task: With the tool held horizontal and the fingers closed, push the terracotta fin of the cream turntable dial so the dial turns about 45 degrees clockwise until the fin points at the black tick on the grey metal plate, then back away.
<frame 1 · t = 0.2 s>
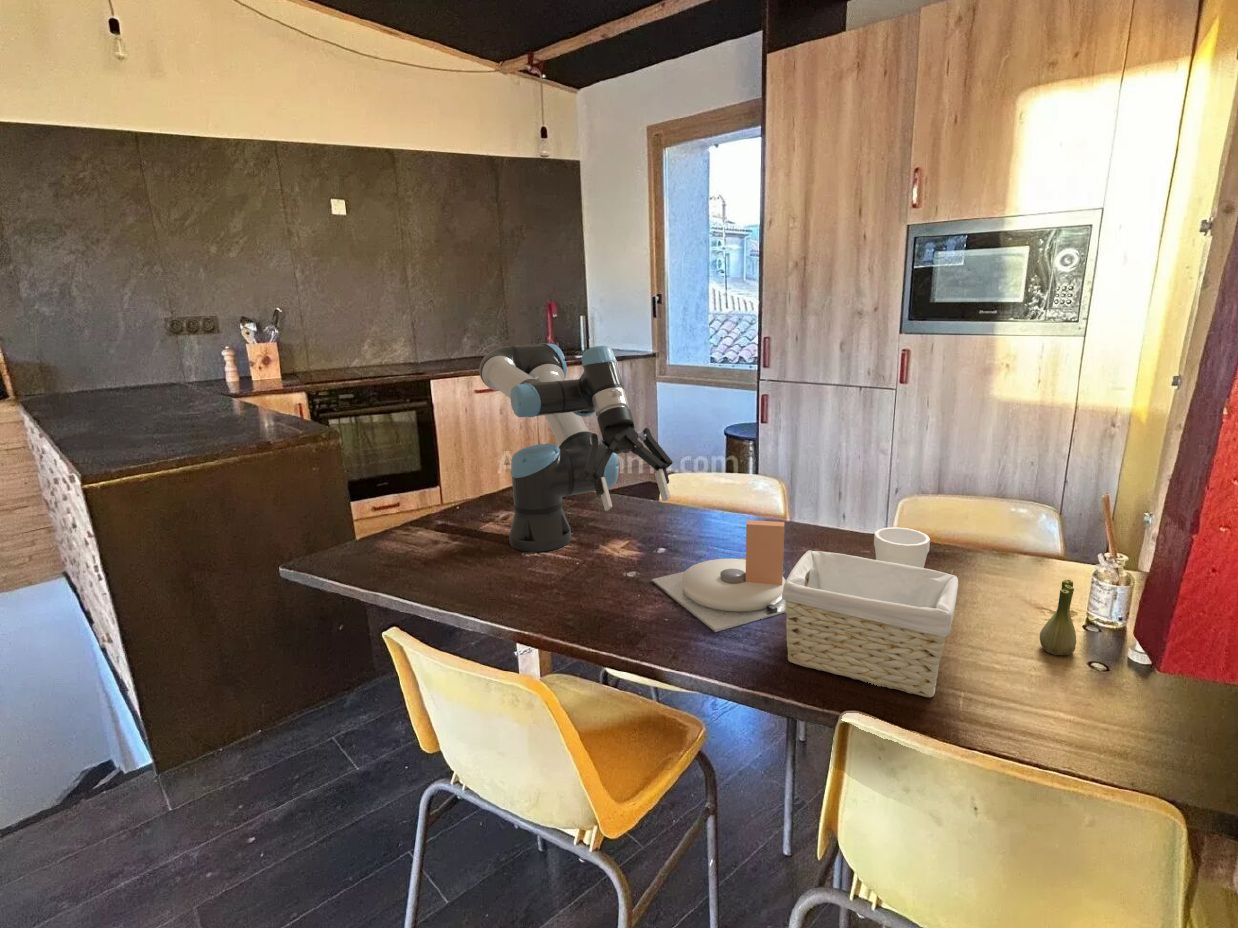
hand: (638, 504, 137), 15 cm above the table, tool tilted 35°, fingers open, 13 cm apart
storage basket: (864, 662, 105), on the table
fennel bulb: (1055, 651, 106), on the table
base plate: (732, 591, 131), on the table
dial: (733, 554, 129), point 8 cm above the table, hinge at 0.0°
foam cup: (896, 600, 125), on the table
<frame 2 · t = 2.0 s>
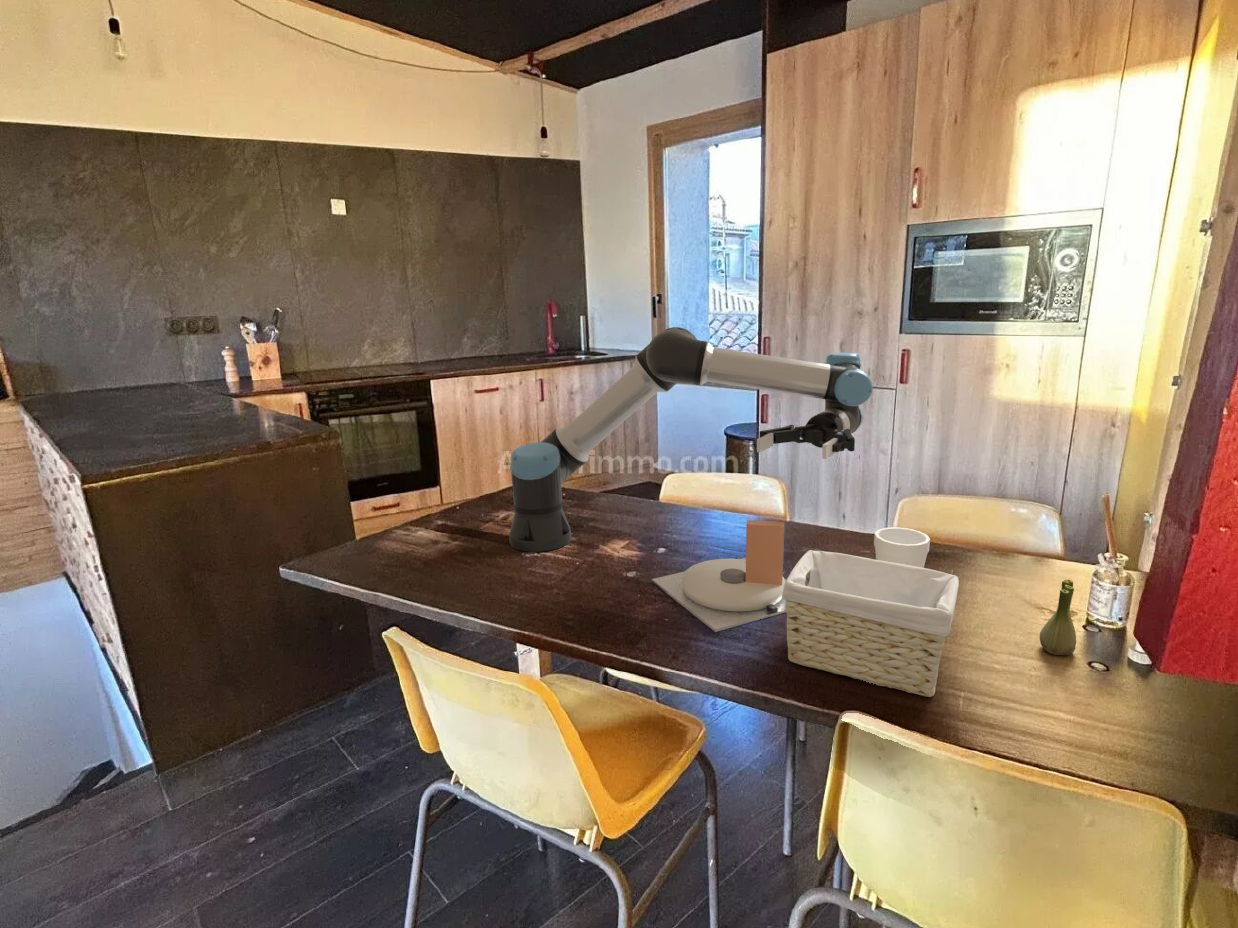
hand: (790, 448, 130), 27 cm above the table, tool horizontal, fingers open, 13 cm apart
nothing on the table moved.
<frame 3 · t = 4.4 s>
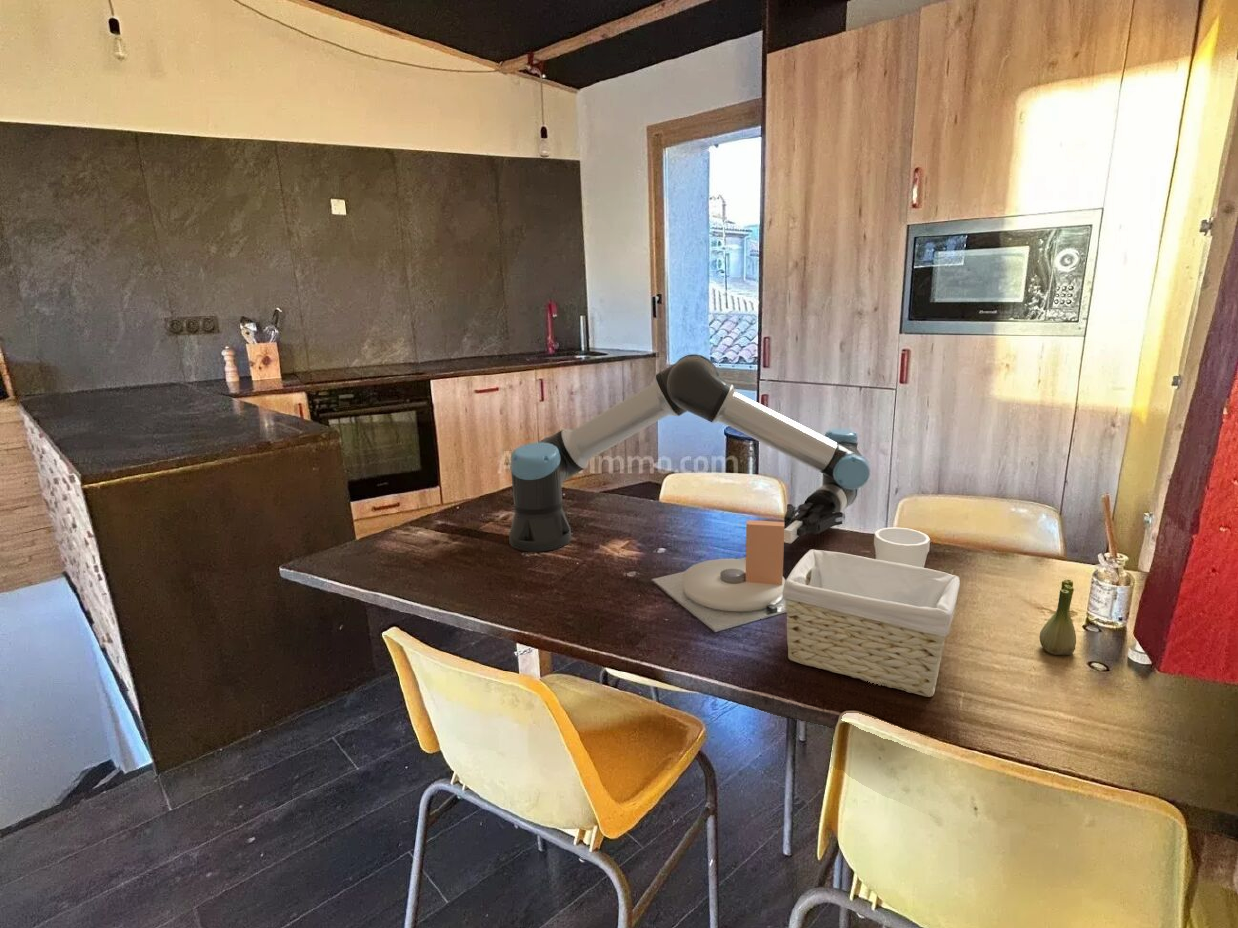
hand: (787, 536, 133), 9 cm above the table, tool horizontal, fingers closed
nothing on the table moved.
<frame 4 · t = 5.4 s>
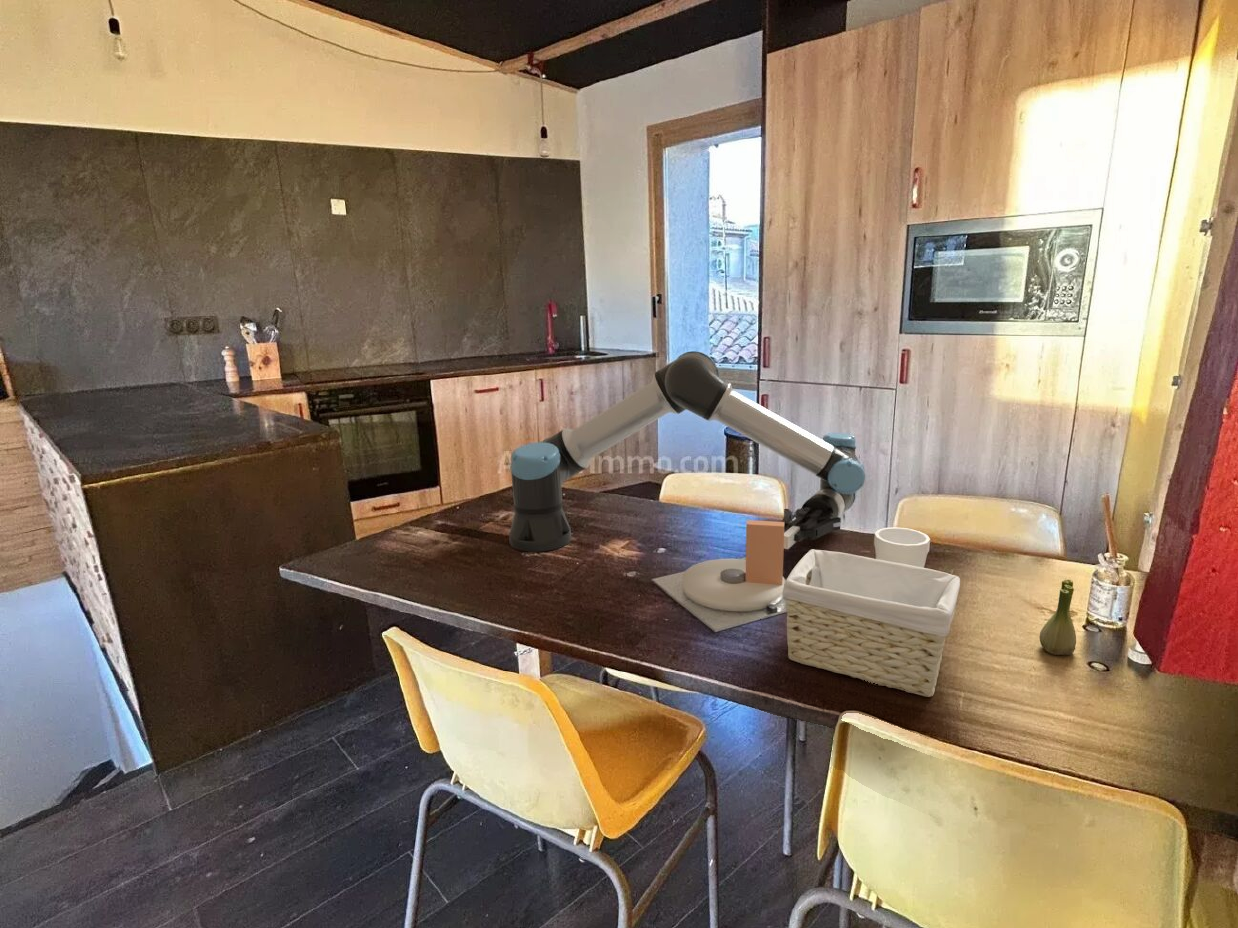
hand: (784, 542, 132), 9 cm above the table, tool horizontal, fingers closed
nothing on the table moved.
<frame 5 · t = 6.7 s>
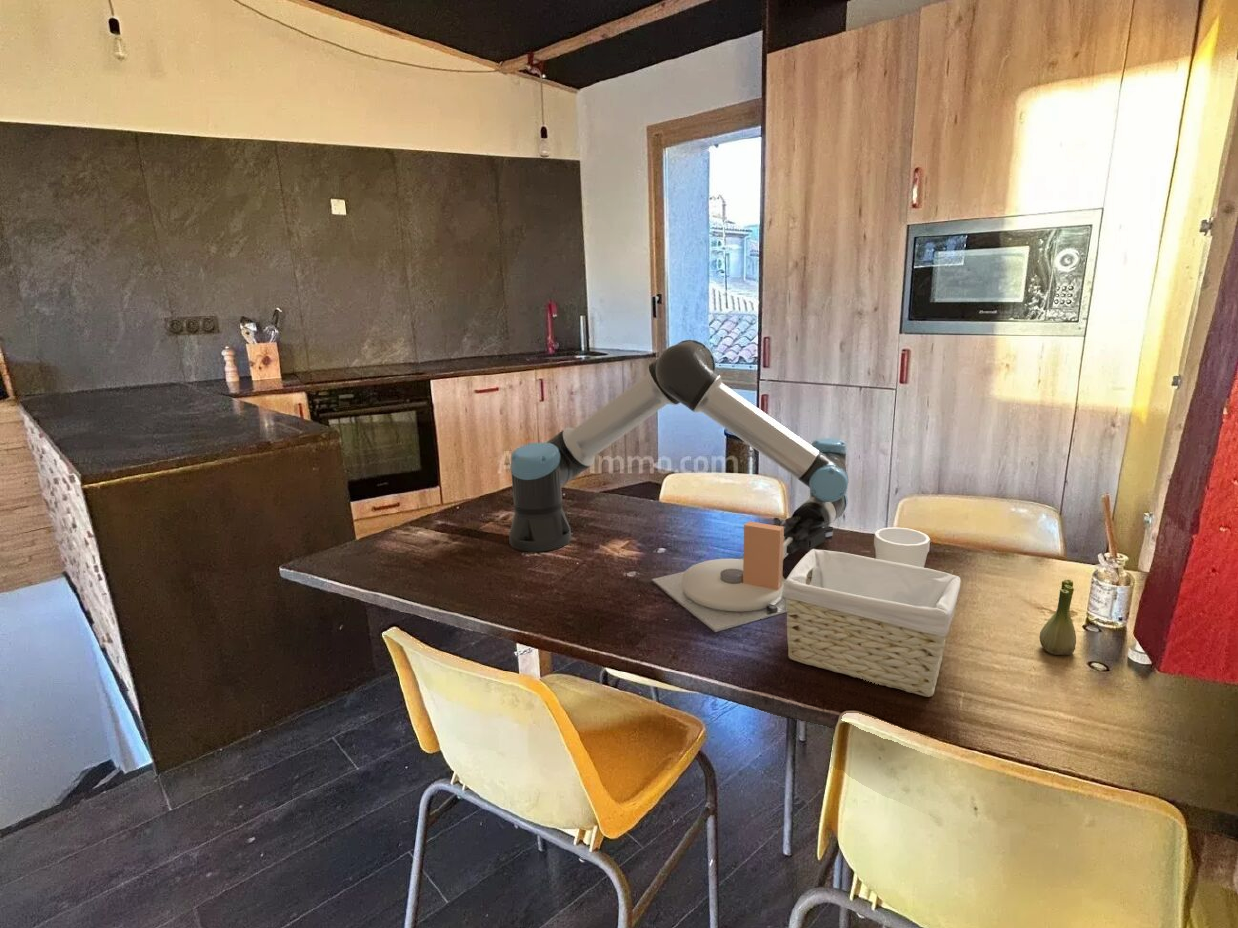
hand: (775, 554, 126), 9 cm above the table, tool horizontal, fingers closed, pressing on dial
dial: (733, 554, 129), point 8 cm above the table, hinge at 15.5°, touching gripper
everything else where it was.
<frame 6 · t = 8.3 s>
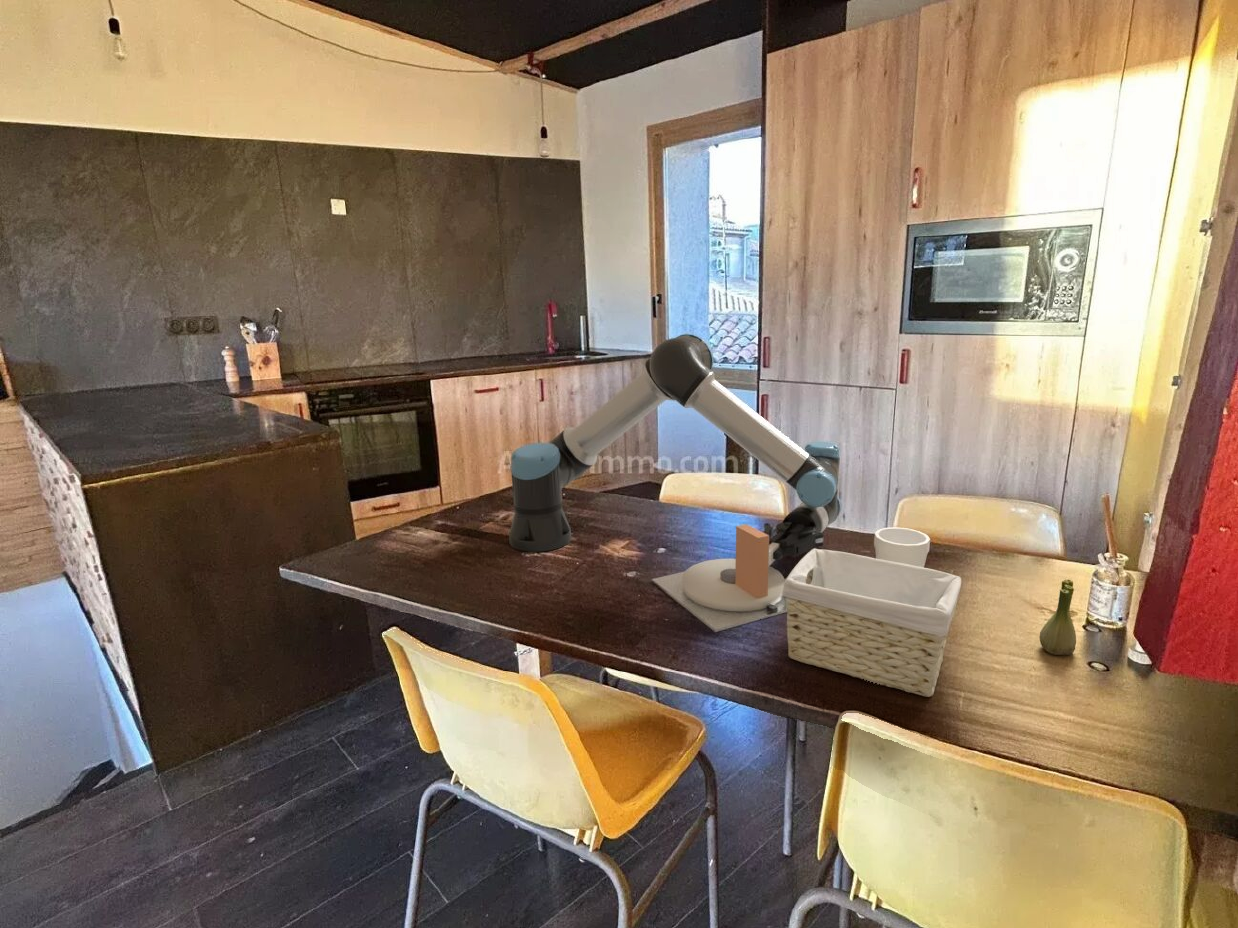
hand: (762, 560, 123), 9 cm above the table, tool horizontal, fingers closed
dial: (733, 554, 129), point 8 cm above the table, hinge at 50.2°, touching gripper
everything else where it was.
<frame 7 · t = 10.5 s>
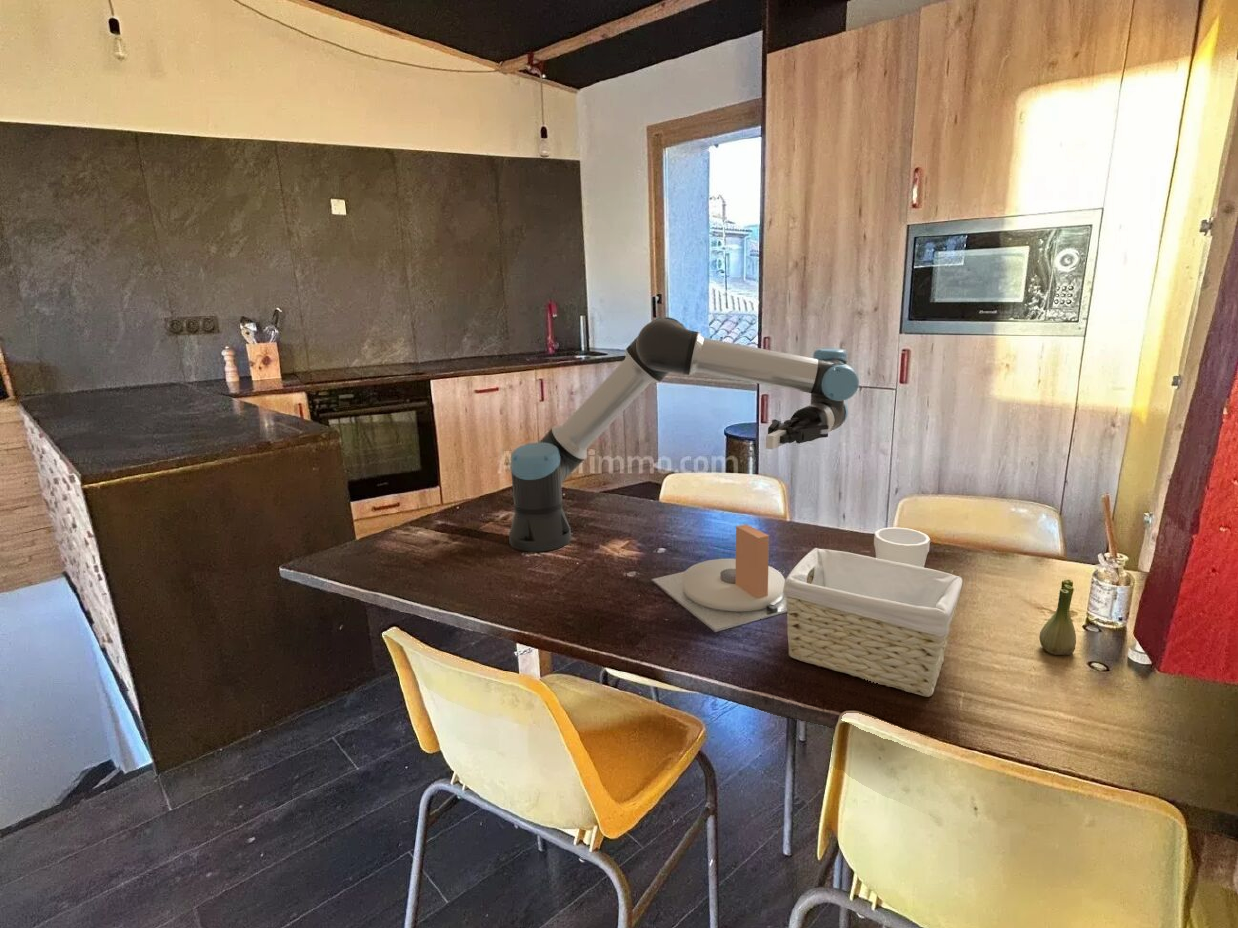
hand: (769, 442, 130), 29 cm above the table, tool horizontal, fingers closed
dial: (733, 554, 129), point 8 cm above the table, hinge at 50.3°
everything else where it was.
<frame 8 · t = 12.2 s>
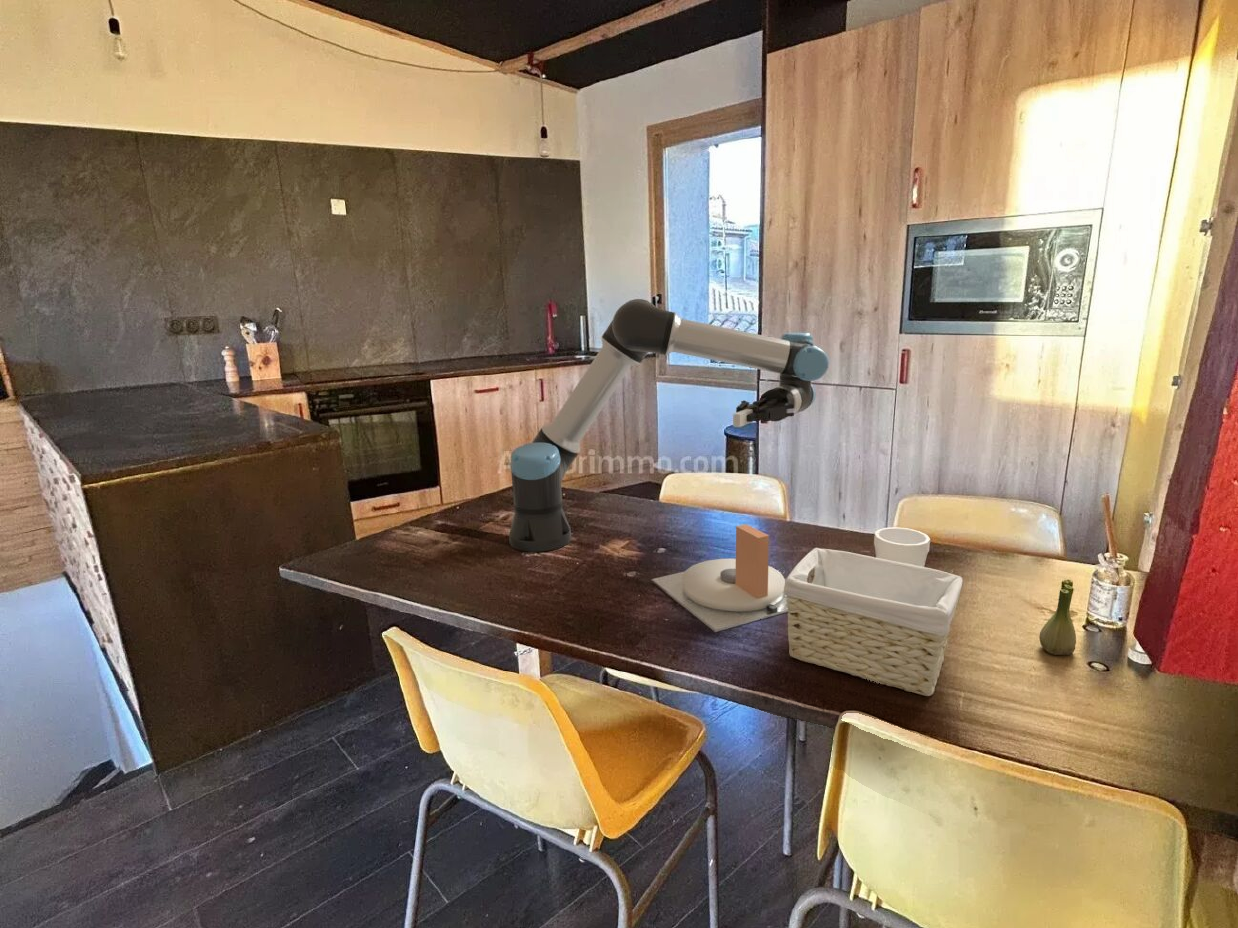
hand: (736, 420, 136), 32 cm above the table, tool horizontal, fingers closed
nothing on the table moved.
at the end: dial at +50° (first picture: +0°) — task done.
